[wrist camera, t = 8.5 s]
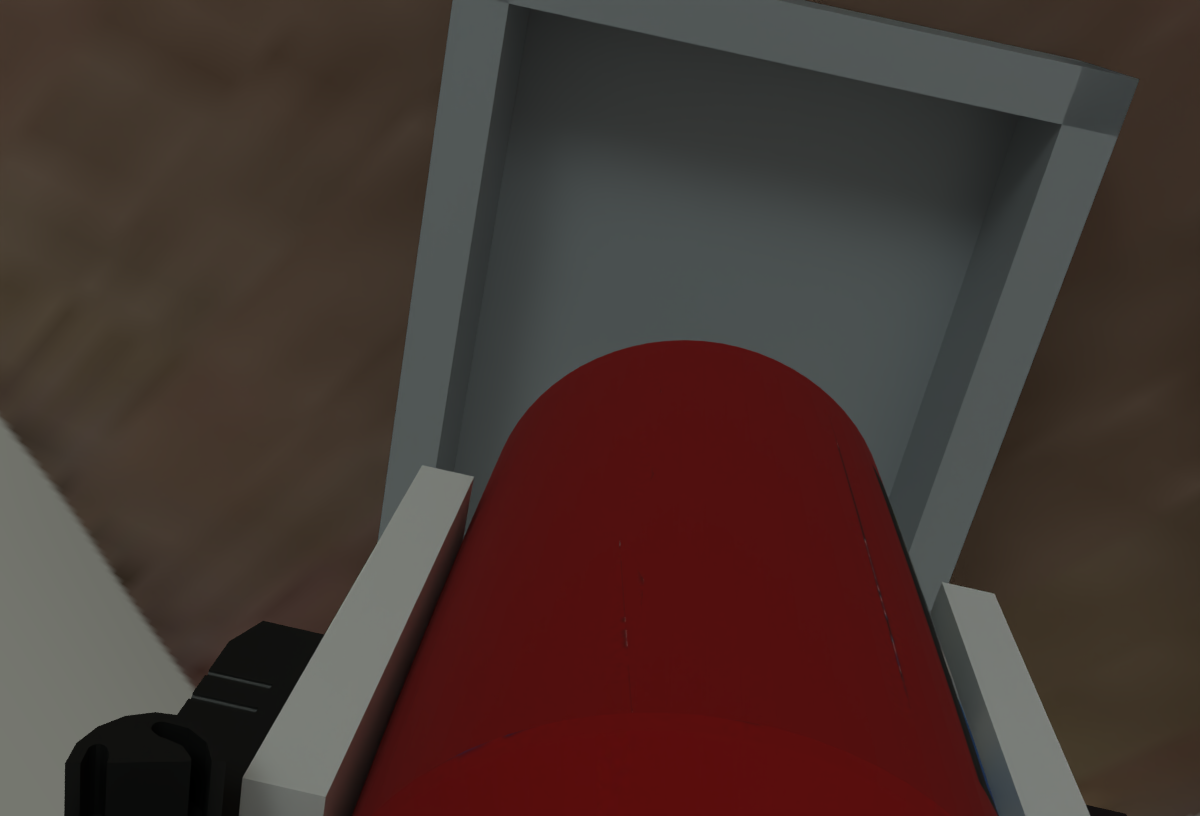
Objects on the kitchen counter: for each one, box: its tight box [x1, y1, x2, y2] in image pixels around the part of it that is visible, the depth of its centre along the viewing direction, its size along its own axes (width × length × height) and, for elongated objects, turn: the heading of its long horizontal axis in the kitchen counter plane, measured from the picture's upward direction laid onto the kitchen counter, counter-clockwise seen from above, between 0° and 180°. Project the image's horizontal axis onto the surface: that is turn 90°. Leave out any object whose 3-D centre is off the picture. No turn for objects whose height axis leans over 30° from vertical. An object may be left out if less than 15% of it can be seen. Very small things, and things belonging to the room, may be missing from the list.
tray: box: [378, 0, 1139, 612], centre depth 24 cm, size 16×12×4 cm
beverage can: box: [352, 340, 999, 816], centre depth 14 cm, size 7×7×12 cm
